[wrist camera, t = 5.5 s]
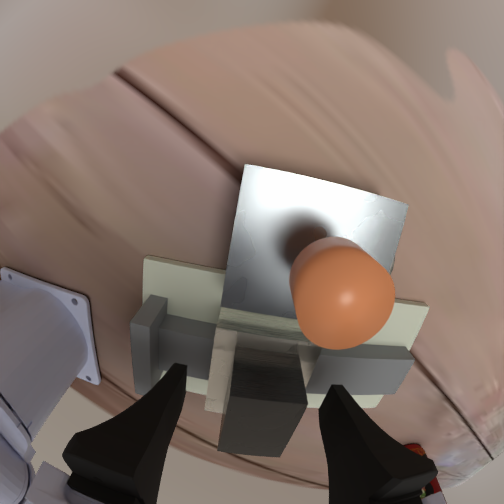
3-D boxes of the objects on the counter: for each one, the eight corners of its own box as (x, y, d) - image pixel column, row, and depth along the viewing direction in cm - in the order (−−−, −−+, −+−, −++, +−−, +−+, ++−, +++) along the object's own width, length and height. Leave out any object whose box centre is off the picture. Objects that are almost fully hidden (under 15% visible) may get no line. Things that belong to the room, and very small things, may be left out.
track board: (147, 374, 17) (131, 410, 14) (147, 254, 14) (118, 280, 11) (373, 402, 18) (386, 435, 14) (425, 302, 15) (454, 331, 12)
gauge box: (227, 279, 15) (220, 306, 12) (247, 164, 13) (244, 163, 10) (354, 300, 15) (372, 328, 12) (384, 197, 13) (413, 206, 10)
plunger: (280, 309, 9) (285, 343, 7) (300, 228, 8) (312, 247, 6) (355, 319, 9) (373, 352, 7) (380, 245, 8) (408, 266, 7)
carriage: (209, 384, 16) (195, 454, 11) (221, 303, 14) (204, 376, 9) (287, 394, 16) (294, 464, 11) (315, 318, 14) (339, 391, 9)
